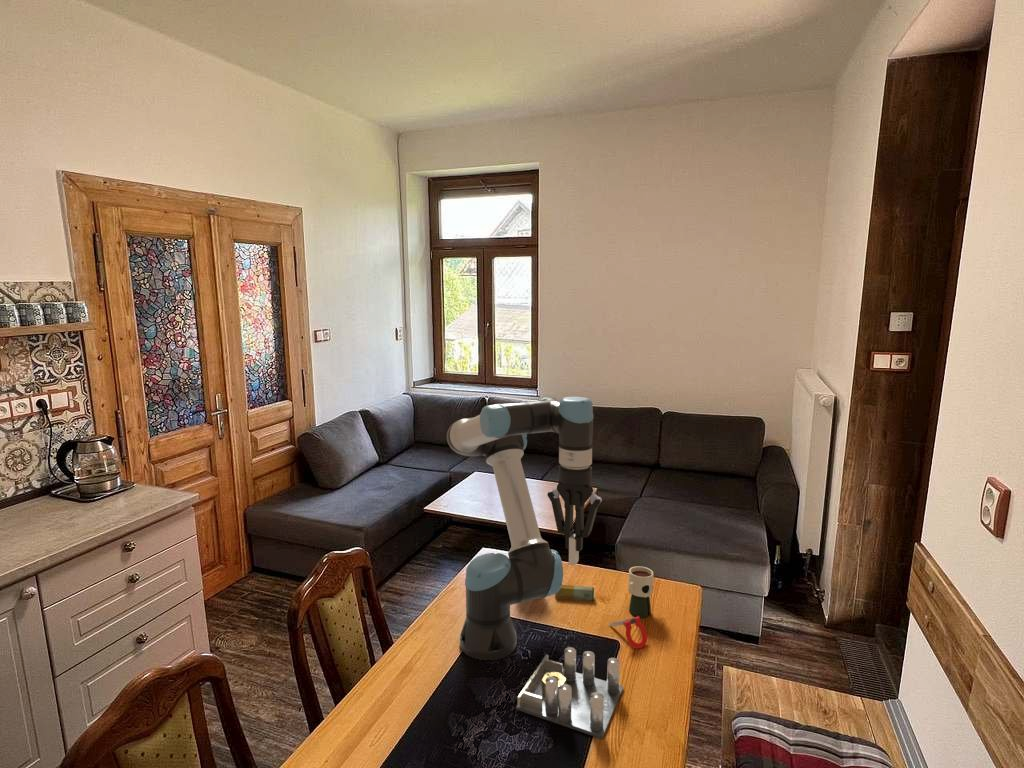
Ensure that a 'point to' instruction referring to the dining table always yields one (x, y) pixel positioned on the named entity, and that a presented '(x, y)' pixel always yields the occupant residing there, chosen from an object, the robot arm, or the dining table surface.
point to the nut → (557, 675)
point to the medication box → (575, 593)
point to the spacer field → (573, 694)
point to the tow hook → (628, 631)
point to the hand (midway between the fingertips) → (573, 562)
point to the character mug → (640, 590)
